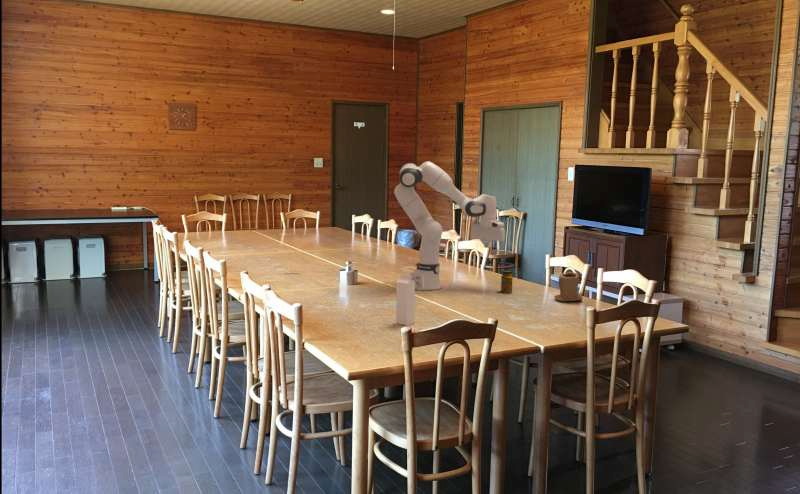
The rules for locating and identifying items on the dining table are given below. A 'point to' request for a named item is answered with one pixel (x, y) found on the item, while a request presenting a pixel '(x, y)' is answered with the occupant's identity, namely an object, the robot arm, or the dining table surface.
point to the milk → (405, 300)
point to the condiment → (506, 283)
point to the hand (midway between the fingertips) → (487, 247)
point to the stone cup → (568, 287)
